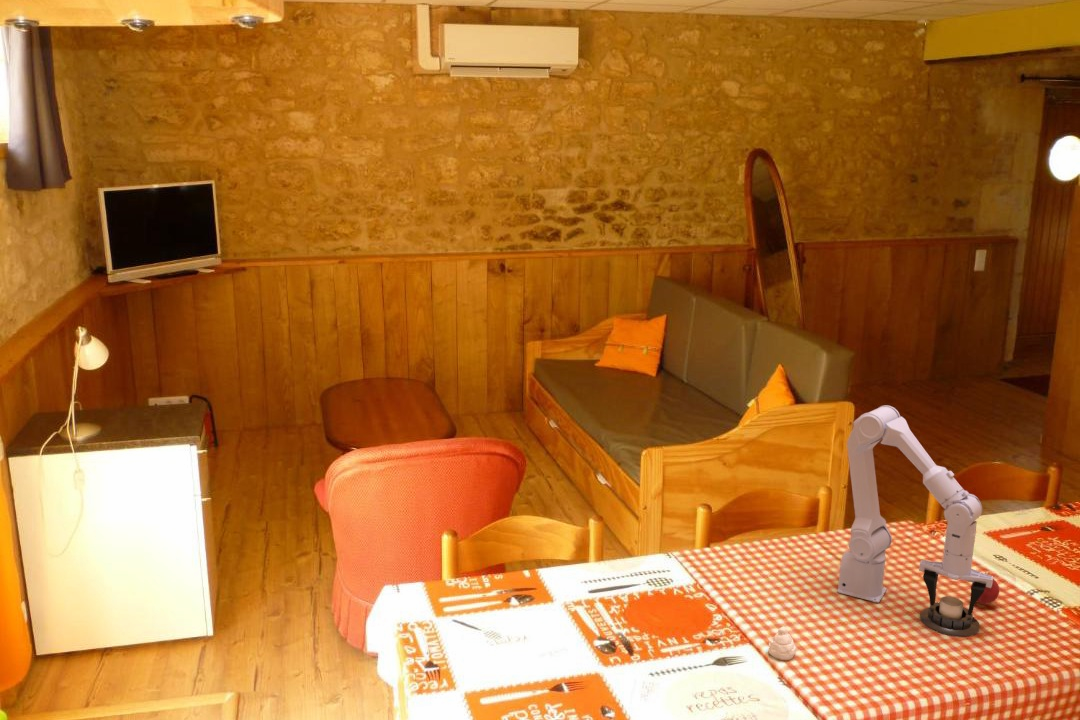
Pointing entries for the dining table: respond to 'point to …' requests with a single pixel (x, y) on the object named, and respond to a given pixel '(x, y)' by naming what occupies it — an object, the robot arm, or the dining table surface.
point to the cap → (951, 607)
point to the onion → (989, 593)
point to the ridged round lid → (949, 622)
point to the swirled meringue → (782, 645)
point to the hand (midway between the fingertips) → (951, 608)
